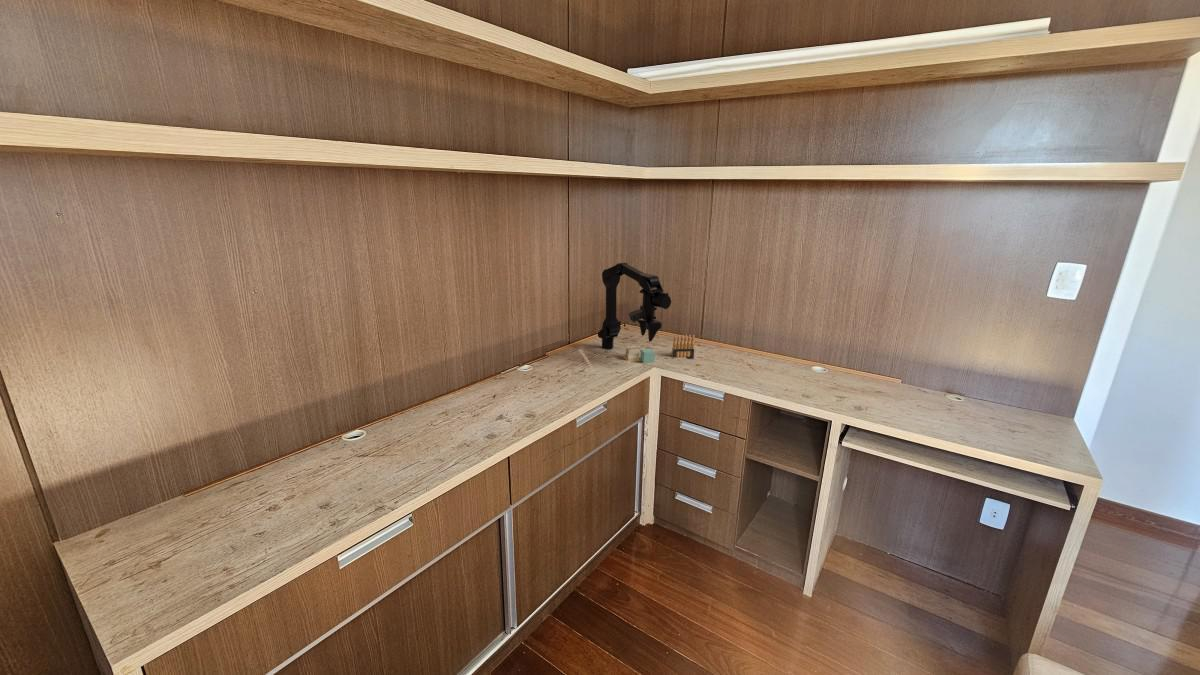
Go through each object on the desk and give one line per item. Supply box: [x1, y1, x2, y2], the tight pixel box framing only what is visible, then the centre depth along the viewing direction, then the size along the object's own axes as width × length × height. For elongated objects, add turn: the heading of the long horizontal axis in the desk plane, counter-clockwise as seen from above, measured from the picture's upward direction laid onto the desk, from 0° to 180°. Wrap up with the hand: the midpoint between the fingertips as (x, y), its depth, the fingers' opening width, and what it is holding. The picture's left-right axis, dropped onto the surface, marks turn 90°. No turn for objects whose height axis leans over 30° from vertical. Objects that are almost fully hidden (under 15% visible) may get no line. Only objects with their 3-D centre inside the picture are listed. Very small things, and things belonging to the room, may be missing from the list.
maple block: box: [624, 346, 640, 362], centre depth 229 cm, size 5×5×5 cm
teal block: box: [639, 348, 656, 364], centre depth 226 cm, size 5×5×5 cm
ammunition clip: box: [670, 334, 695, 360], centre depth 234 cm, size 11×2×12 cm, turn 101°
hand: (646, 338), depth 223 cm, fingers open, 9 cm apart
